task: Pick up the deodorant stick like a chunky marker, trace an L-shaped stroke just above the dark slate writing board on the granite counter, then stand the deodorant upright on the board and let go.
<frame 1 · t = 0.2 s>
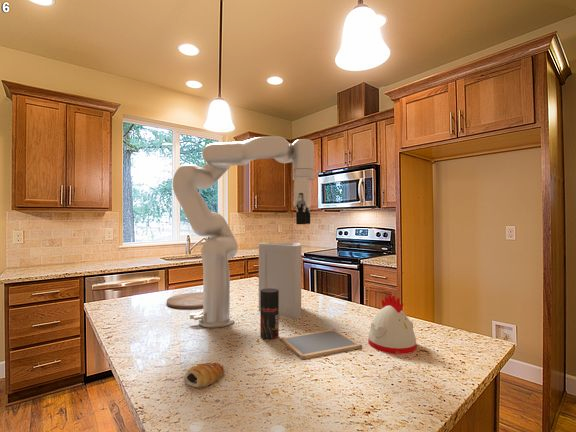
hand: (303, 224, 112), 36 cm above the countertop, tool pointing down, fingers open, 9 cm apart
slate board: (319, 343, 98), on the countertop
deodorant: (269, 337, 104), on the countertop
trivet: (195, 302, 148), on the countertop
tall white carton: (286, 311, 134), on the countertop
pastry: (203, 381, 76), on the countertop
kitchen timer: (391, 345, 98), on the countertop
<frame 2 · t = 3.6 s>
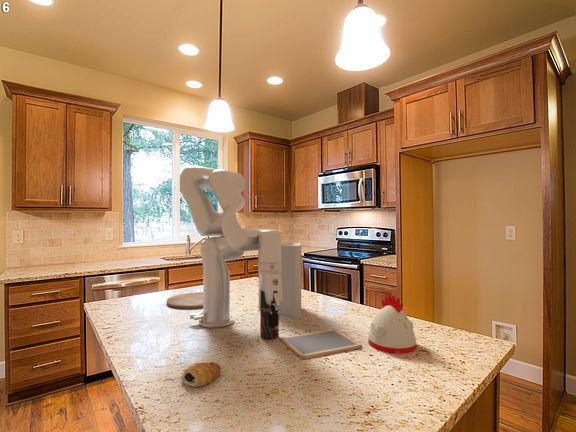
hand: (269, 322, 104), 5 cm above the countertop, tool pointing down, fingers closed on deodorant, 5 cm apart
deodorant: (269, 337, 104), on the countertop, touching gripper
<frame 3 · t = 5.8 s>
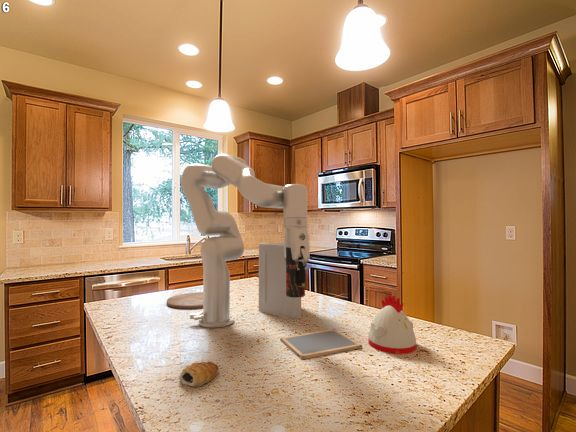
hand: (295, 280, 100), 19 cm above the countertop, tool pointing down, fingers closed on deodorant, 5 cm apart
deodorant: (295, 295, 100), point 14 cm above the countertop, touching gripper
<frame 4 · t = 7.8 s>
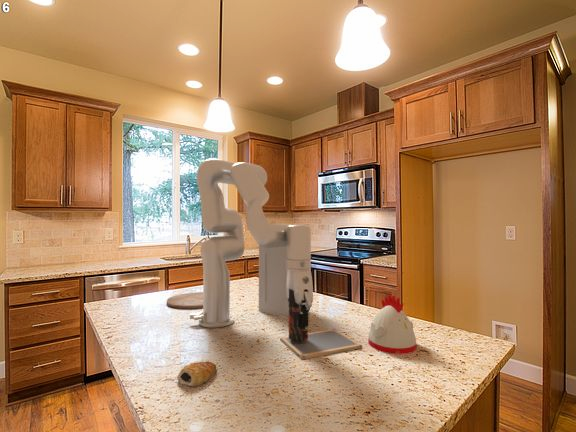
hand: (298, 322, 98), 6 cm above the countertop, tool pointing down, fingers closed on deodorant, 5 cm apart
deodorant: (298, 338, 98), point 2 cm above the countertop, touching gripper
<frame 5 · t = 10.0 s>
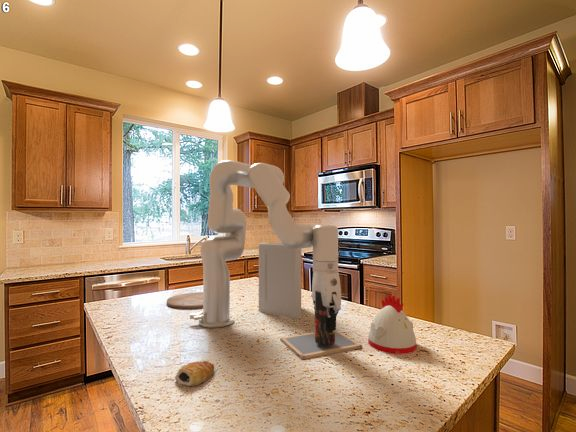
hand: (325, 326, 95), 6 cm above the countertop, tool pointing down, fingers closed on deodorant, 5 cm apart
deodorant: (325, 342, 95), point 2 cm above the countertop, touching gripper
when the fingers open (6 cm above the countertop, at t = 11.9 s): deodorant stays where it is, resting on slate board.
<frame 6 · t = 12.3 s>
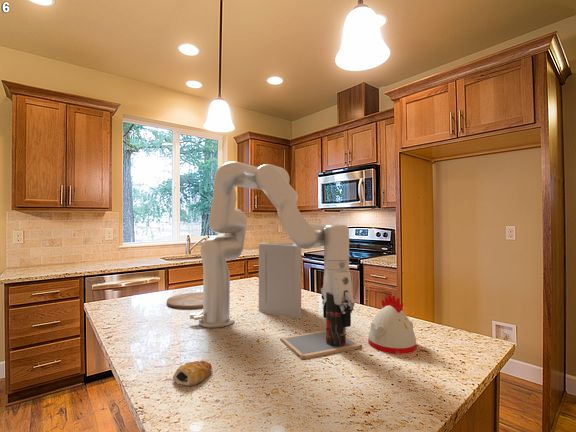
hand: (336, 321, 97), 7 cm above the countertop, tool pointing down, fingers open, 9 cm apart
deodorant: (335, 343, 97), point 1 cm above the countertop, touching slate board
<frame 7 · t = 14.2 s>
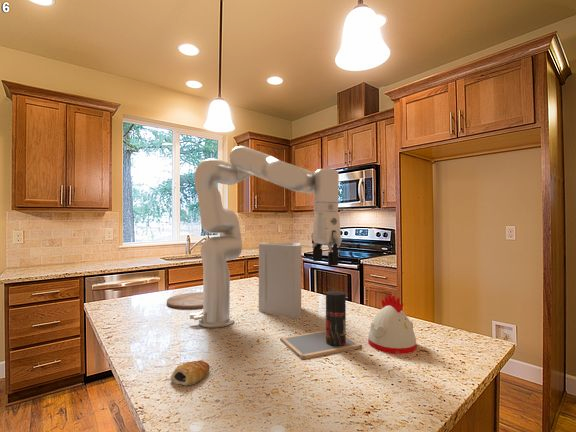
hand: (324, 263, 100), 24 cm above the countertop, tool pointing down, fingers open, 9 cm apart
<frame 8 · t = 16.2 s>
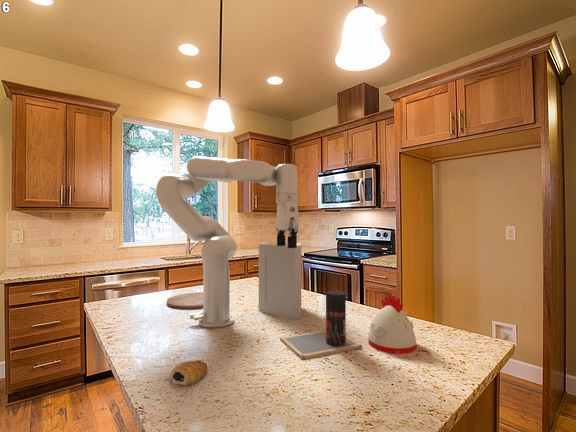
hand: (286, 246, 114), 28 cm above the countertop, tool pointing down, fingers open, 9 cm apart
at the end: deodorant inside the target area on the slate board (0.4 cm from its centre), point 0.6 cm above the slate board's base; deodorant tilted 0°; the gripper is holding nothing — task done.
